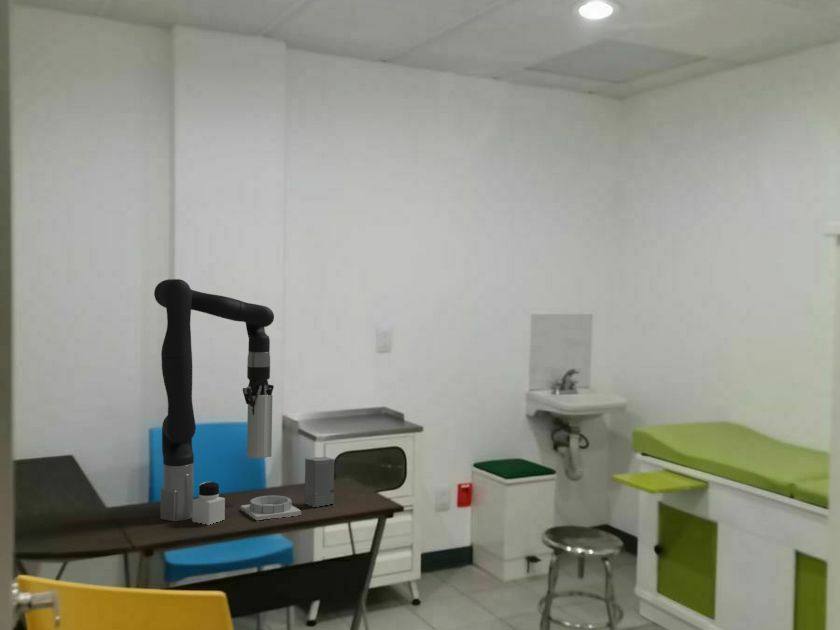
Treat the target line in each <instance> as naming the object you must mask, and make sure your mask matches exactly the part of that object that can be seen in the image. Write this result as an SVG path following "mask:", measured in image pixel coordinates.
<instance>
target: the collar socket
mask: <svg viewBox="0 0 840 630" xmlns="http://www.w3.org/2000/svg"><path fill="white" fill-rule="evenodd" d="M292 503H293V502H292V498H290V497H288V496H284V495H261V496H256V497H253V498H251V499H250V500H249V504H243V505H242V504H241V505H240V510H241V509H242V510H243V511H245V512H246V513H247V514H249V515H250V516H252V517H253V518H254V519H255V520H263V519H271V518H279V519H283V518H282V517H286V518H292V517H291V516H294V517H299V516H298V515H301V516H302V510H300V509H299V508H297V506H295V505H293V504H292ZM242 510H241V511H242ZM243 511H242V512H243ZM246 513H245V514H246ZM247 514H246V515H247ZM250 516H249V517H250ZM253 518H252V519H253ZM254 519H253V520H254ZM255 520H254V521H255ZM271 520H272V519H271Z"/></svg>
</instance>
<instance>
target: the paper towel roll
mask: <svg viewBox="0 0 840 630" xmlns="http://www.w3.org/2000/svg"><path fill="white" fill-rule="evenodd" d="M252 397H253V401H255V397H256V395H252ZM249 401H250V399H249ZM256 403H257V405H256V406H254V415H253V412H252V411H253V410H252V409H253V407H252V406H250V405H249V404H247V420H246V421H247V425H246V426H247V429H246V431H247V433H246V434H247V435H246V438H247V439H246V458H247V459H264V458H271V457H272V445H273V444H272V441H273V440H272V436H273V435H272V434H273V394H272V395H267V396H266V395H260V396H258V399H256Z"/></svg>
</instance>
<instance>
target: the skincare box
mask: <svg viewBox="0 0 840 630" xmlns="http://www.w3.org/2000/svg"><path fill="white" fill-rule="evenodd" d="M304 466H305V467H304V505H306V504H307V505H306V506H309V507H311V506H312V507H311V508H314V507H317V508H320V507H319V506H323V507H326V506H325V505H328V506H331V505H330V504H333V505H334V504H335V503H334V502H335V459H334V458H331V457H327V456H320V457H318V456H317V457H307V458H305V459H304Z"/></svg>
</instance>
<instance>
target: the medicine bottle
mask: <svg viewBox="0 0 840 630" xmlns="http://www.w3.org/2000/svg"><path fill="white" fill-rule="evenodd" d="M225 502H226V498H225V497H221V496H220V485H219V483H218V482H215V481H205V482H201V483H199V485H198V497H197V498H193V513H192V518H191V520H192V523H196V522H197V524H200V523H202V524H201V525H205V524H206V525H205V526H211V525H213V523H214V524H217V523H216V522H218V523H220V521H221V522H223V521H222V520H224V521H225V518H226V517H225V516H226V511H225V510H226V503H225ZM210 524H211V525H210Z"/></svg>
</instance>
